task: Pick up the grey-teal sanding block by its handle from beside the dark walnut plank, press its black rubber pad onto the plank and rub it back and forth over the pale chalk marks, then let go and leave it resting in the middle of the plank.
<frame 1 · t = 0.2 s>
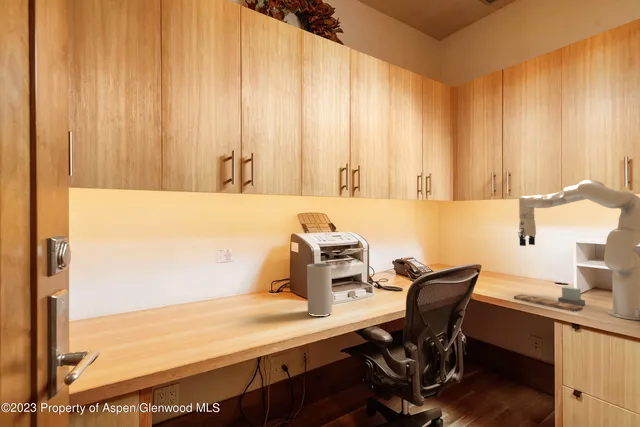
hand: (527, 245, 191), 31 cm above the table, tool pointing down, fingers open, 9 cm apart
cylinder vase: (319, 314, 164), on the table
sanding block: (571, 303, 175), on the table
walnut plank: (545, 303, 176), on the table
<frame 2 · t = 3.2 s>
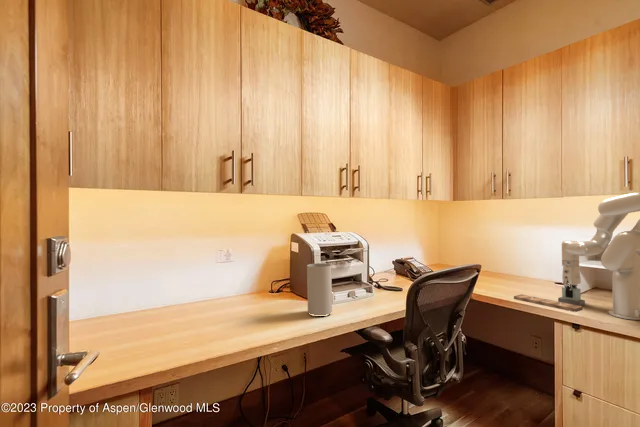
hand: (571, 296, 175), 4 cm above the table, tool pointing down, fingers closed on sanding block, 4 cm apart
sanding block: (571, 303, 175), on the table, touching gripper
everything else where it was.
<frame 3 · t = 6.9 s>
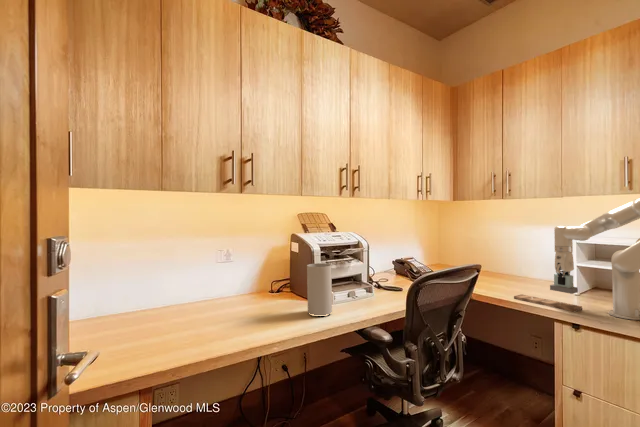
hand: (563, 283, 168), 13 cm above the table, tool pointing down, fingers closed on sanding block, 4 cm apart
sanding block: (563, 291, 168), point 9 cm above the table, touching gripper
everything else where it was.
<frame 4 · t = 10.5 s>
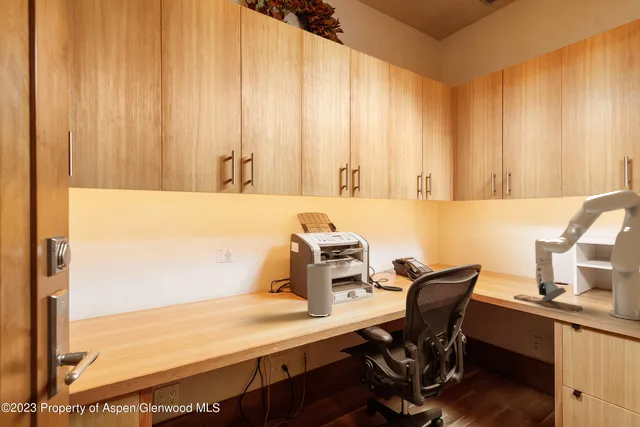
hand: (544, 294, 176), 5 cm above the table, tool pointing down, fingers closed on sanding block, 4 cm apart
sanding block: (555, 296, 171), point 5 cm above the table, tilted 40°, touching gripper, walnut plank
everything else where it was.
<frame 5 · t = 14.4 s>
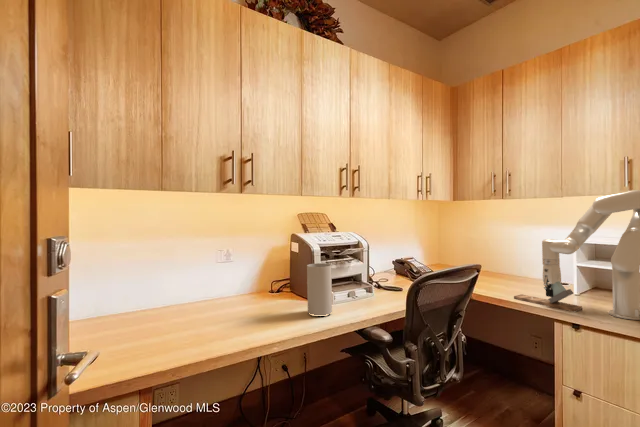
hand: (551, 295, 173), 5 cm above the table, tool pointing down, fingers closed on sanding block, 4 cm apart
sanding block: (562, 298, 169), point 5 cm above the table, tilted 38°, touching gripper
everything else where it was.
when the fingers open (5 cm above the table, at t = 17.8 s): sanding block drops 3 cm, resting on walnut plank.
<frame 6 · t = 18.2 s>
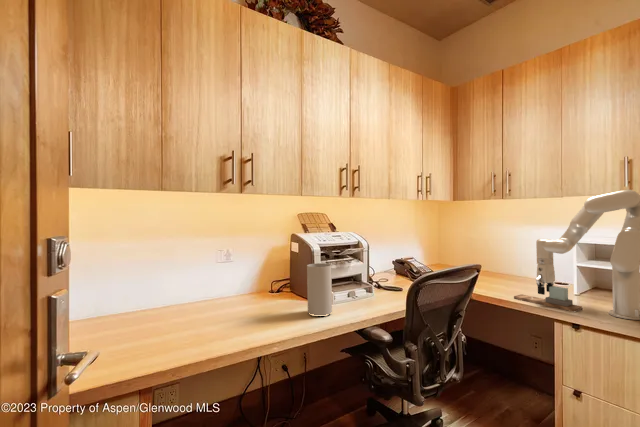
hand: (545, 292, 176), 6 cm above the table, tool pointing down, fingers open, 8 cm apart
sanding block: (558, 303, 170), point 2 cm above the table, touching walnut plank
everything else where it was.
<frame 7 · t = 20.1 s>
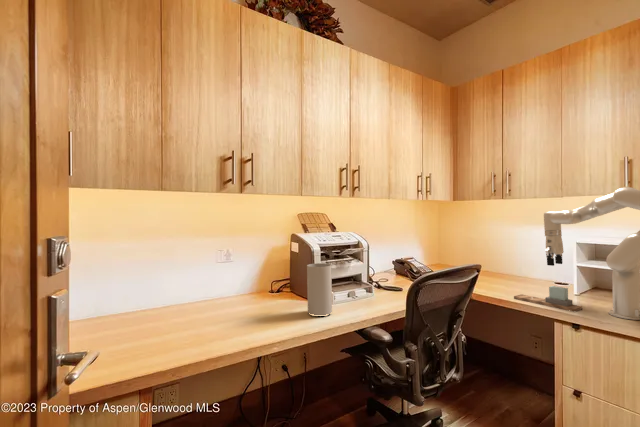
hand: (554, 264, 176), 21 cm above the table, tool pointing down, fingers open, 9 cm apart
nothing on the table moved.
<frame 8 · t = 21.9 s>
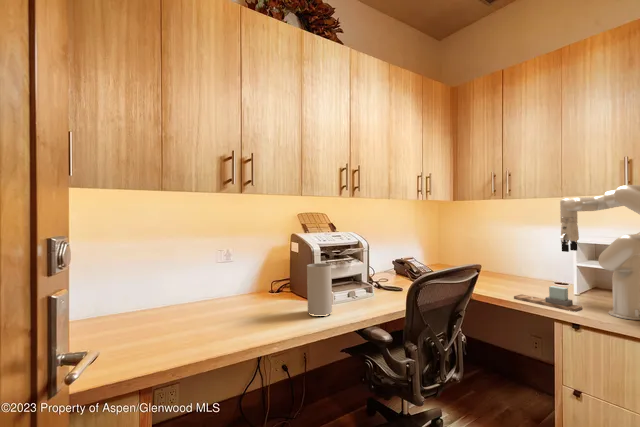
hand: (569, 251, 179), 28 cm above the table, tool pointing down, fingers open, 9 cm apart
nothing on the table moved.
at the end: sanding block inside the target area on the walnut plank (6.2 cm from its centre), point 1.5 cm above the walnut plank's base; sanding block tilted 0°; the gripper is holding nothing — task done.
